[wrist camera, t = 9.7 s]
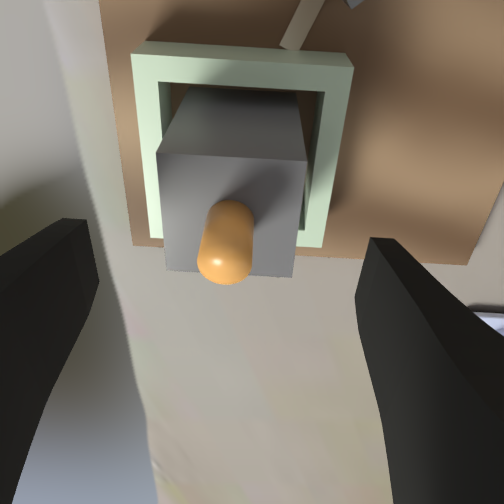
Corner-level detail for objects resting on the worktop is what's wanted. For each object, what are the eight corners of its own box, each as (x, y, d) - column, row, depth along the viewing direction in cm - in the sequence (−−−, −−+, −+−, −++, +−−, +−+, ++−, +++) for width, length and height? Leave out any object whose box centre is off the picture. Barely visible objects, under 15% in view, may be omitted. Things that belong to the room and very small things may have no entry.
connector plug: (286, 187, 19) (294, 323, 12) (193, 182, 19) (152, 315, 12) (296, 92, 16) (313, 199, 10) (189, 86, 16) (137, 188, 10)
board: (460, 255, 21) (467, 266, 21) (137, 236, 21) (132, 246, 21) (680, -264, 11) (708, -277, 11) (66, -304, 11) (52, -320, 11)
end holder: (317, 221, 20) (321, 247, 18) (160, 212, 20) (150, 237, 18) (345, 52, 15) (354, 67, 14) (145, 40, 15) (130, 53, 14)
